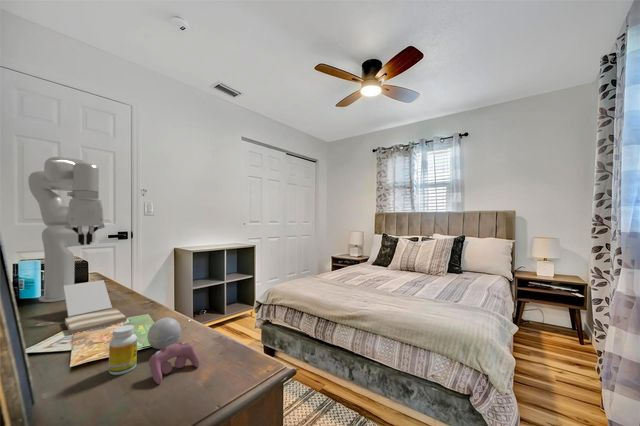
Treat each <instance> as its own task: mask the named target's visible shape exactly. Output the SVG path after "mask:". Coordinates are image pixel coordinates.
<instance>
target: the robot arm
mask: <svg viewBox="0 0 640 426" xmlns="http://www.w3.org/2000/svg"><path fill="white" fill-rule="evenodd" d="M43 165H44V169H43V170H38V171H37V170H36V171H33V172H32V173H30V174H29V175H28V180H27V183H28V188H29V190H30V192H31V194H32V195H31V196H33V197H34V200H36V202H37V203H38V206H39V210H40V215H41V218H42V222H43V223H44V225H45V226H46V227H45V228H44V229H43V230H42V233H41V240H42V244H43V245H42V246H43V250H44V251H43V252H44V266H43V267H44V271H43V272H44V275H43V276H44V279H43V295H42V296H39V298H38V301H39V302H40V303H54V302H55V303H56V302H61V301H65V296H64V290H63V287H64V286H65V285H72V284H75V269H76V267H75V265H76V264H75V262H76V261H75V254H74V253H73V252H72V251H71V250H69V249H68V248H70V247H83V246H90V245H92V244H93V243H94V242H95V240H96V231H98V230H100V229H101V230H102V229H104V228H105V226H106V225H105V224H104V210H103V209H104V208H103V203H102V202H103V201H102V200H101V199H99V194H100V193H99V191H100V190H99V188H100V187H99V183H100V181H99V180H100V179H99V178H100V169H99V166H98V165H96V164H94V163H88V162H86V161H84V160H82V159H78V158H70V157H63V156H51V157H49V158H47V159H46V160H45V162H44V164H43ZM55 191H66V192H67V195H66V196H68V197H71V198H70V200H69V203H68V205H66V203H65V200H64V199H63V197H62V196H60V195H59V194H58V193H57V192H55Z"/></svg>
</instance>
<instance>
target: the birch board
mask: <svg viewBox="0 0 640 426" xmlns="http://www.w3.org/2000/svg"><path fill="white" fill-rule="evenodd" d="M127 319H128V318H127V316H126V315H124V314H123V313H122V312H121V311H120V310H118V308H117V307H115V308H112V309H109V310H104V311H99V312H94V313H89V314H84V315H79V316H75V317H70V318H68V317H65V318H64V324H65V325H66V328H67V329H68V331H69V333H70V335H71V336H73V335H75V334H74V333H77V332H81V333H83V332H82V331H86V332H88V331H87V330H90V331H92V330H91V329H94V330H96V329H95V328H98V329H100V328H99V327H102V328H105V327H104V326H106V327H110V326H114V325H118V324H117V323H119V324H122V323H121V322H123V323H126V322H125V321H127ZM127 322H128V321H127ZM113 324H114V325H113ZM72 334H73V335H72ZM77 334H78V333H77Z"/></svg>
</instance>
